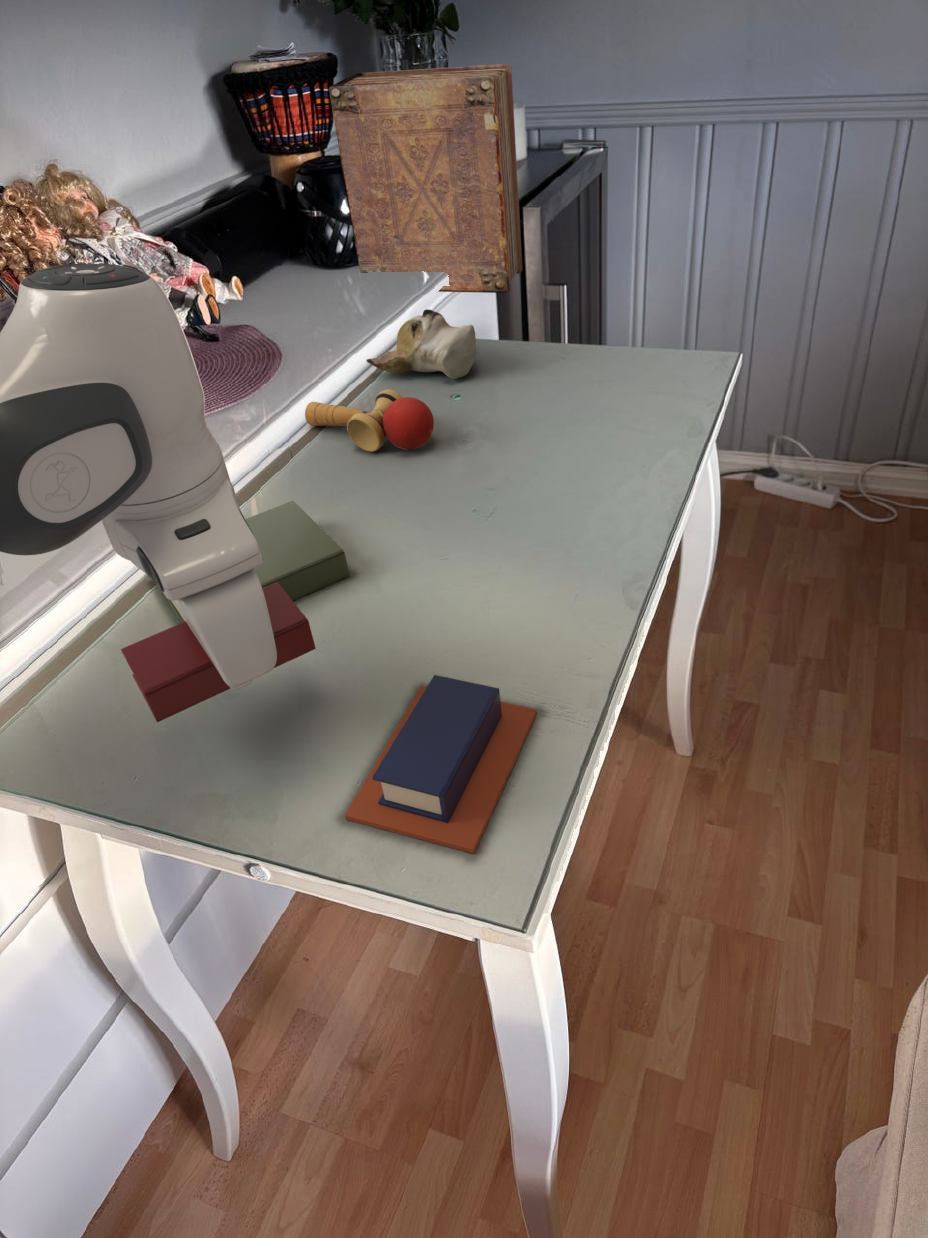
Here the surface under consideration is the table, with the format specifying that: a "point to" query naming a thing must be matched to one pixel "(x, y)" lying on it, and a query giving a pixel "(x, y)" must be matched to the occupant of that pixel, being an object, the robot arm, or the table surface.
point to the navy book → (439, 748)
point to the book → (432, 173)
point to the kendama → (379, 421)
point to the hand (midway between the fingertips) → (223, 657)
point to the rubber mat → (475, 798)
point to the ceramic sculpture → (430, 347)
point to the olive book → (293, 552)
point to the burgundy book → (206, 658)
